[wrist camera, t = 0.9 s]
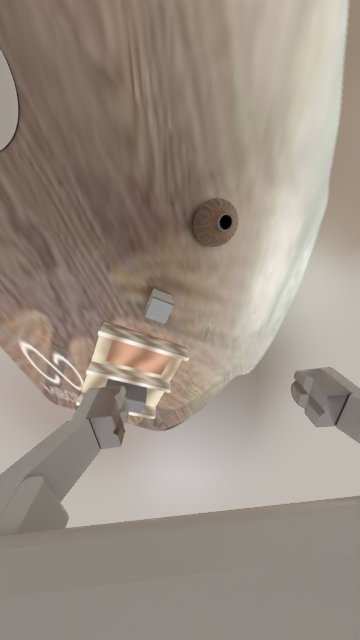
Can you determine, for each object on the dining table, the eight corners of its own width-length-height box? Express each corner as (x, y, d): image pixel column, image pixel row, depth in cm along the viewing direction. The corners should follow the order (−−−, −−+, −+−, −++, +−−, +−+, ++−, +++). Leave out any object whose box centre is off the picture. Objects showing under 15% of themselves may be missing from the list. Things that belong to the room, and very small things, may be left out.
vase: (207, 253, 34) (222, 259, 27) (182, 225, 32) (191, 222, 24) (234, 224, 33) (259, 221, 25) (210, 192, 30) (229, 178, 22)
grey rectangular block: (146, 304, 38) (144, 316, 32) (153, 288, 36) (152, 297, 31) (163, 311, 39) (165, 324, 33) (171, 295, 37) (173, 305, 32)
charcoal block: (104, 388, 45) (98, 405, 41) (108, 377, 44) (103, 394, 39) (141, 396, 48) (140, 413, 44) (147, 386, 47) (146, 402, 42)
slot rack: (82, 391, 46) (75, 404, 42) (104, 321, 38) (99, 330, 34) (154, 406, 52) (154, 419, 48) (186, 347, 44) (189, 358, 40)
